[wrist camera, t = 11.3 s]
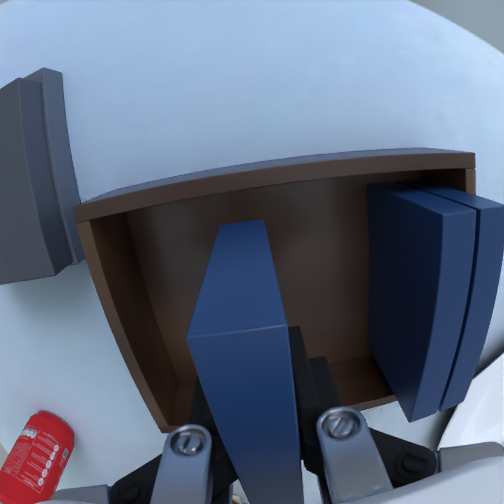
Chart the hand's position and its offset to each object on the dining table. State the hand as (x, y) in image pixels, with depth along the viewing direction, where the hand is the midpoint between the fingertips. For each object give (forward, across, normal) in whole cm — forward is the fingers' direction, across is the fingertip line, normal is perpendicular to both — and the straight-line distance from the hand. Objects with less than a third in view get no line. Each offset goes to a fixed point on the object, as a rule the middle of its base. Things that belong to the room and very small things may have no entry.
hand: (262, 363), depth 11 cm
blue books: (+6, -8, 0) cm, 10 cm away
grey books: (+7, +13, -9) cm, 17 cm away
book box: (+7, -2, 0) cm, 7 cm away
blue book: (+2, 0, 0) cm, 2 cm away
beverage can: (+7, +22, +13) cm, 26 cm away
